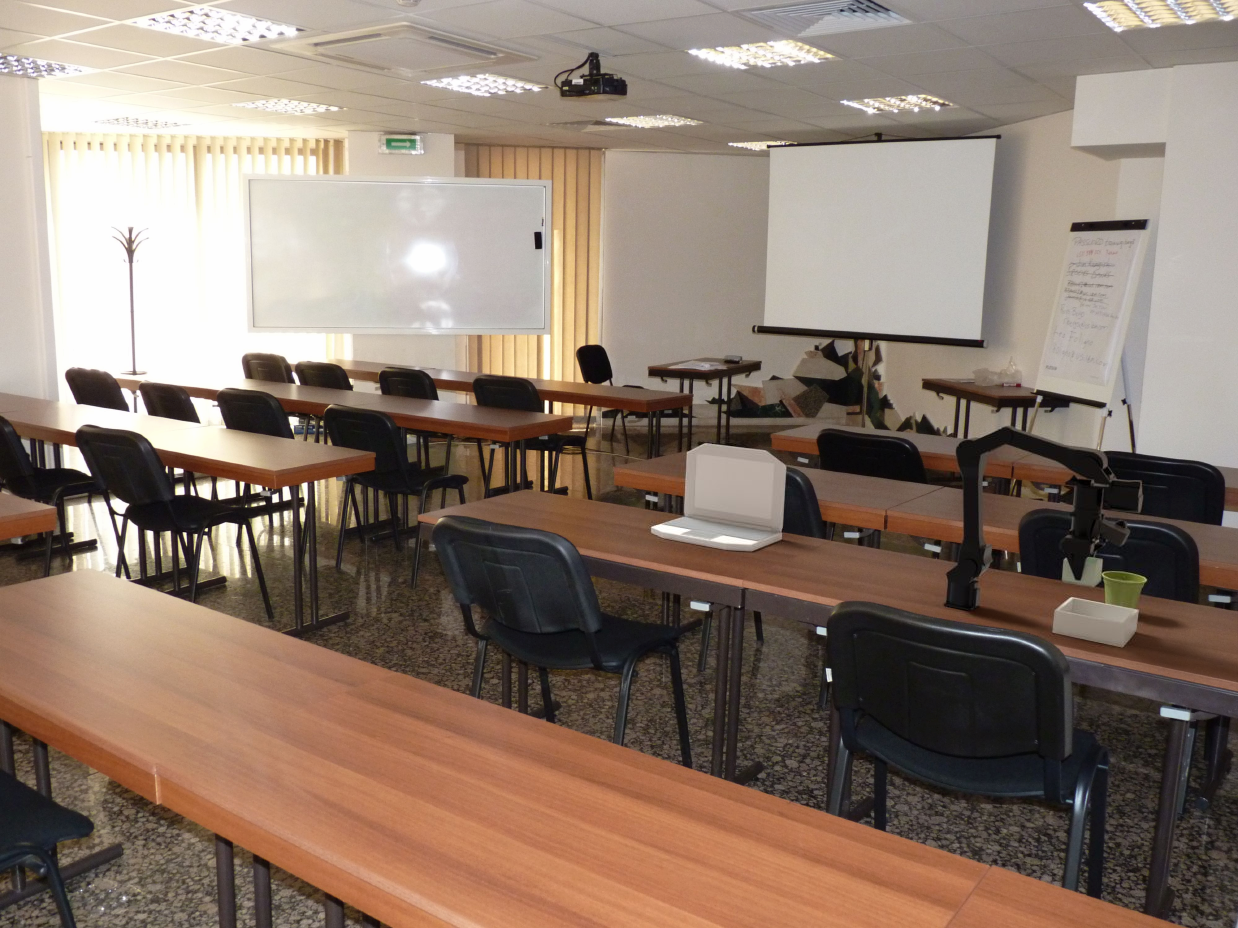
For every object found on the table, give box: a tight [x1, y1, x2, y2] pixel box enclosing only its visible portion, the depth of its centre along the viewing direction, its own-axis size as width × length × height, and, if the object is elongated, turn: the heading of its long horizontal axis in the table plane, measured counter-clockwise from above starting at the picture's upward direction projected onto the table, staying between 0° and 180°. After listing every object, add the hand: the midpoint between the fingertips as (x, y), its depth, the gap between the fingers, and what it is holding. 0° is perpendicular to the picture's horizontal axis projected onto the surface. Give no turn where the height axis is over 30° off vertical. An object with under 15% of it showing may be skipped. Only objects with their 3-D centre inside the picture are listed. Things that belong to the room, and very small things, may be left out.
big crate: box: [1051, 597, 1139, 648], centre depth 218 cm, size 14×14×5 cm
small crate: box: [1061, 557, 1104, 588], centre depth 219 cm, size 6×6×5 cm
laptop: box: [650, 442, 787, 552], centre depth 295 cm, size 33×24×26 cm
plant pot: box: [1101, 570, 1148, 610], centre depth 234 cm, size 9×9×9 cm
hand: (1081, 577), depth 219 cm, fingers closed on small crate, 6 cm apart
